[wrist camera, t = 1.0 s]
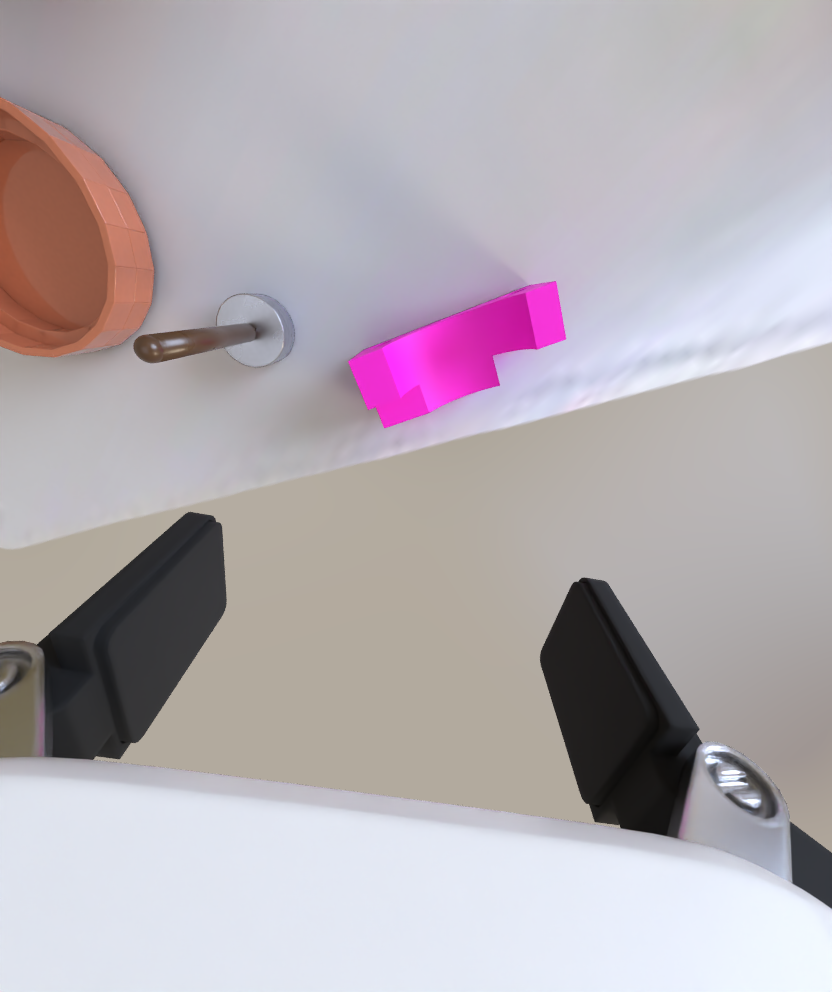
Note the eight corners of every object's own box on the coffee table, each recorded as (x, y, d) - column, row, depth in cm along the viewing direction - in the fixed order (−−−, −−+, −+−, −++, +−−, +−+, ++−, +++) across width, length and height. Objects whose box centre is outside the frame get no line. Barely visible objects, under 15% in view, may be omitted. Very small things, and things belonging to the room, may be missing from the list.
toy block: (389, 414, 37) (380, 439, 30) (363, 349, 35) (348, 361, 28) (544, 360, 34) (572, 374, 28) (529, 285, 32) (555, 281, 25)
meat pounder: (220, 303, 33) (59, 305, 19) (280, 286, 33) (160, 274, 18) (247, 369, 36) (124, 415, 21) (304, 354, 35) (215, 392, 20)
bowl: (-101, 152, 29) (-197, 125, 25) (81, 79, 27) (12, 35, 23) (39, 368, 36) (-16, 378, 32) (193, 324, 34) (157, 327, 30)
